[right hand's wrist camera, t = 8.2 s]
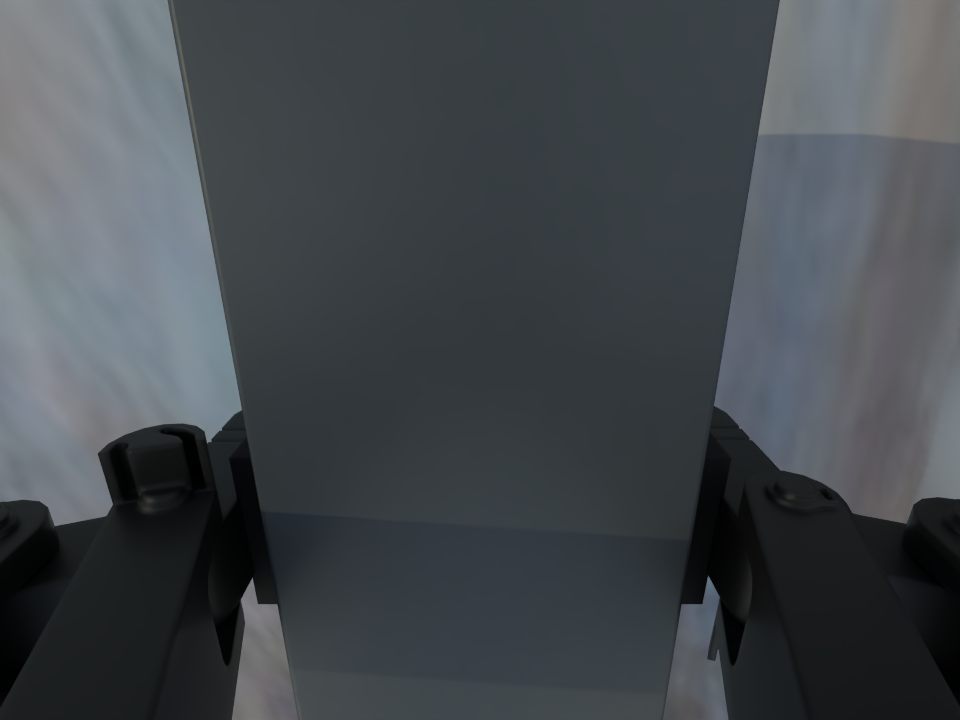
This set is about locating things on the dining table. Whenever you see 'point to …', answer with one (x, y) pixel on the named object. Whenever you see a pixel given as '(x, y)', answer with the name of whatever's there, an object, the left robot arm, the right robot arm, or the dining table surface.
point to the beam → (476, 329)
